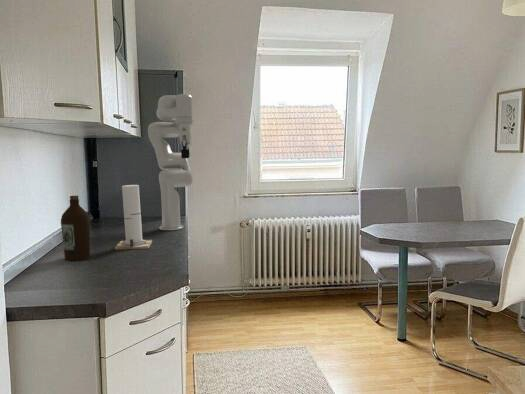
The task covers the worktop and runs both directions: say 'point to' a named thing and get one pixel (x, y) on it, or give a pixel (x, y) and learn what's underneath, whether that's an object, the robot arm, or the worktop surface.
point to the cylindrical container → (132, 213)
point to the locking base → (133, 245)
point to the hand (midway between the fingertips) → (185, 157)
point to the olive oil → (76, 231)
